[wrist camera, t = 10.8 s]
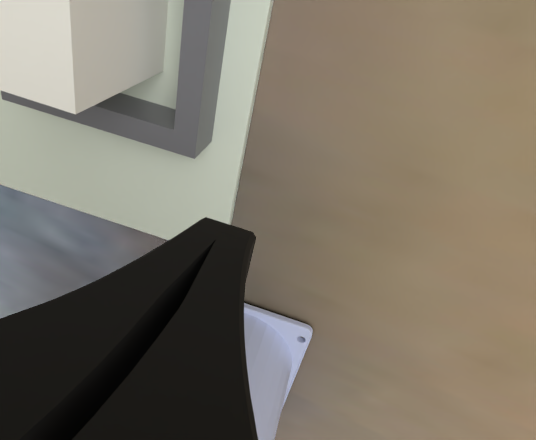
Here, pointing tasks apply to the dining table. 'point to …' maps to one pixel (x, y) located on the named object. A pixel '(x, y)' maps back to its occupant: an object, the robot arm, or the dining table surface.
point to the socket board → (151, 129)
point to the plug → (79, 48)
